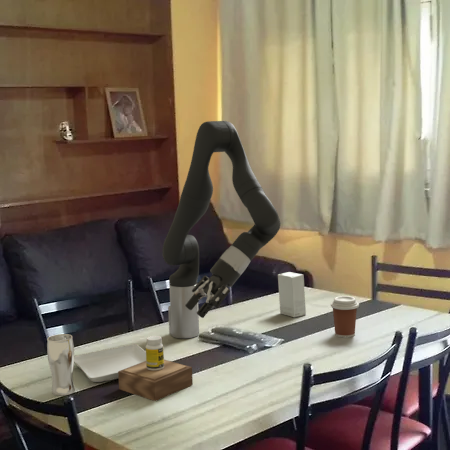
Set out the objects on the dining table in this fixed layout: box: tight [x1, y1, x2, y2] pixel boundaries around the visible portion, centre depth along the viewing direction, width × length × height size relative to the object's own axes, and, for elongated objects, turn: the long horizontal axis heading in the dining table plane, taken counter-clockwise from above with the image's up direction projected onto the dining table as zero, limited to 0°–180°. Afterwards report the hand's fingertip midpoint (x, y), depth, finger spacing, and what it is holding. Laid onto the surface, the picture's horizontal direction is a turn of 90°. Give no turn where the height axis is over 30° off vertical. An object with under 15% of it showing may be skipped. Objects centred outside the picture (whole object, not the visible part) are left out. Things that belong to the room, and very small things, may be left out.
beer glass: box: [46, 333, 76, 397], centre depth 196 cm, size 7×7×15 cm
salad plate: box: [74, 343, 146, 383], centre depth 213 cm, size 21×21×3 cm
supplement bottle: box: [145, 335, 165, 371], centre depth 197 cm, size 5×5×8 cm
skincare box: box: [277, 271, 307, 318], centre depth 264 cm, size 8×6×15 cm
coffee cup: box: [330, 295, 360, 338], centre depth 238 cm, size 9×9×12 cm
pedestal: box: [118, 359, 194, 402], centre depth 198 cm, size 14×14×5 cm
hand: (193, 312), depth 201 cm, fingers open, 8 cm apart
